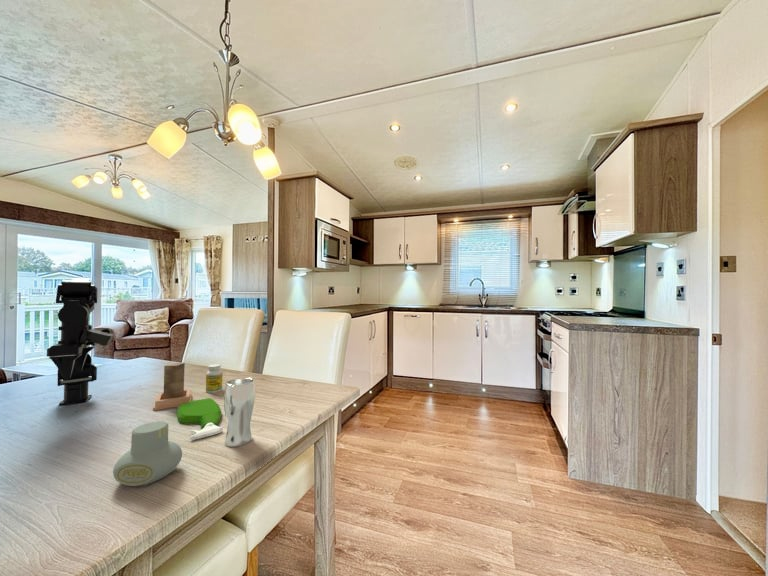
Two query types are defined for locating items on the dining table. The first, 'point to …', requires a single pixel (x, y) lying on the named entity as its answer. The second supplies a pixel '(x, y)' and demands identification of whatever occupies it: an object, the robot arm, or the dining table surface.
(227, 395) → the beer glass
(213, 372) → the supplement bottle
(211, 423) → the spray bottle
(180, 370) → the brown wooden block
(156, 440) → the air freshener
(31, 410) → the dining table surface
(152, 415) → the dining table surface
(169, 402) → the jar dish
